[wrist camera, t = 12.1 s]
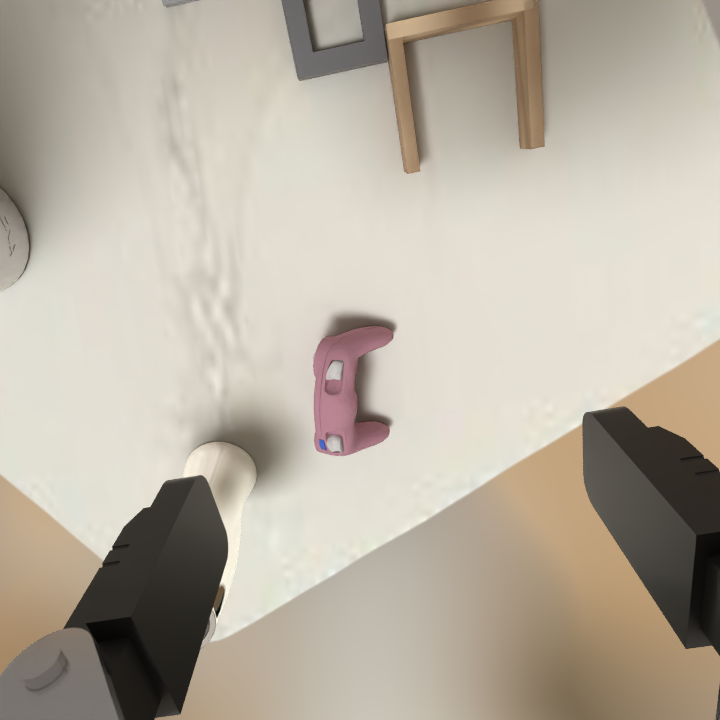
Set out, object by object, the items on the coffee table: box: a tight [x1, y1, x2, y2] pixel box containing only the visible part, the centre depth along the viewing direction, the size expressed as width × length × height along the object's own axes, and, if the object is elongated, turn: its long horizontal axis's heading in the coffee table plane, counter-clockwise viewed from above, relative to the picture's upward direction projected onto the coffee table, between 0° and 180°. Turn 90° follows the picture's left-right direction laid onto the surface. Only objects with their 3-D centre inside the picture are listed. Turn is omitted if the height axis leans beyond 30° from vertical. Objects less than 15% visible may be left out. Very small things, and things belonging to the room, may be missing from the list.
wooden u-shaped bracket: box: [384, 0, 545, 174], centre depth 32 cm, size 9×8×2 cm
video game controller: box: [313, 326, 394, 456], centre depth 39 cm, size 10×5×7 cm, turn 179°
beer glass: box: [183, 442, 257, 649], centre depth 37 cm, size 7×7×15 cm
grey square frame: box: [282, 0, 388, 81], centre depth 31 cm, size 6×6×1 cm
